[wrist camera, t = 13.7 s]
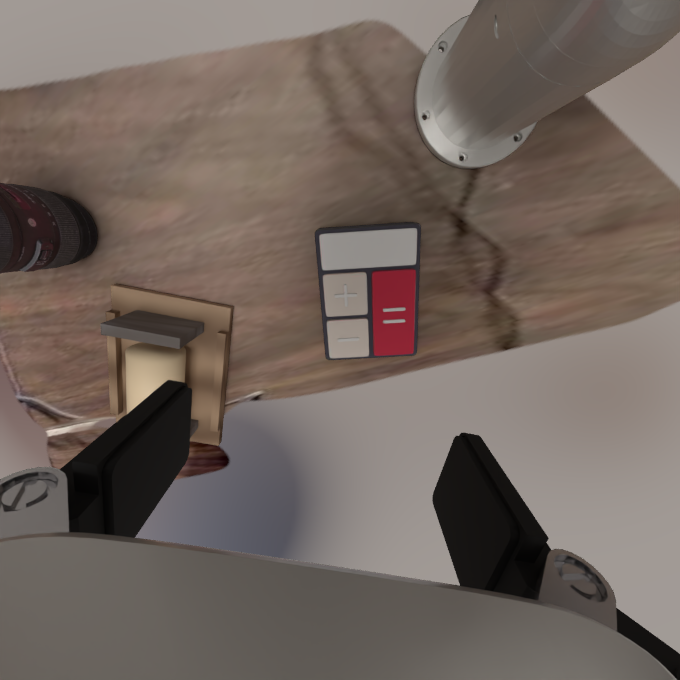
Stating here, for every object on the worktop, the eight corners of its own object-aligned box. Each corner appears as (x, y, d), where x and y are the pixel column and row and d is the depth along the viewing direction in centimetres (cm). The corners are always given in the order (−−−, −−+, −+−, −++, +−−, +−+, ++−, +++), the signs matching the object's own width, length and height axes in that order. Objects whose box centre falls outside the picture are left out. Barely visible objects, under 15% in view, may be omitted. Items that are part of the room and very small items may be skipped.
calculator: (325, 363, 37) (313, 229, 32) (327, 349, 41) (316, 228, 36) (418, 358, 37) (423, 222, 31) (411, 344, 41) (413, 221, 35)
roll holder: (116, 283, 37) (68, 294, 31) (233, 306, 38) (210, 321, 32) (121, 424, 44) (81, 458, 37) (221, 441, 45) (200, 477, 38)
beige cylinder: (173, 338, 40) (117, 344, 35) (195, 356, 36) (137, 366, 32) (171, 405, 43) (119, 419, 39) (191, 428, 40) (137, 446, 35)
